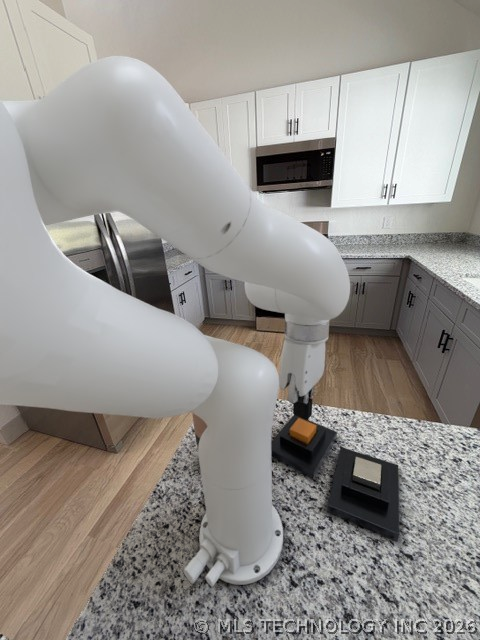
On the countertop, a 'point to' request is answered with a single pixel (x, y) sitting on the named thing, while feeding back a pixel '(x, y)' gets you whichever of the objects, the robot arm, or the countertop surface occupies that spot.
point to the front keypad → (366, 496)
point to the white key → (367, 474)
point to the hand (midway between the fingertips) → (302, 415)
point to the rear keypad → (303, 448)
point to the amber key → (303, 430)
